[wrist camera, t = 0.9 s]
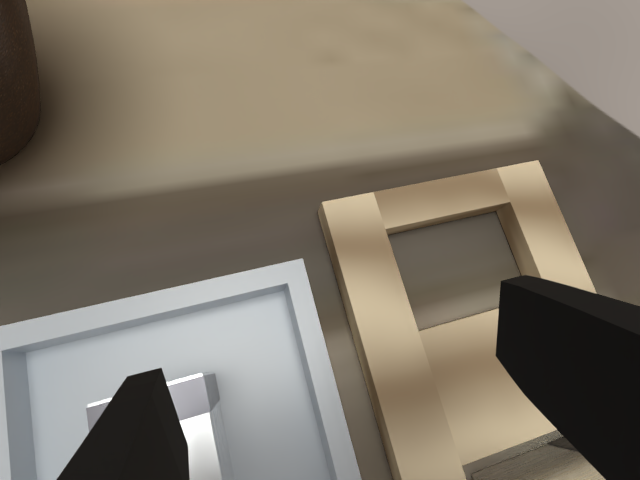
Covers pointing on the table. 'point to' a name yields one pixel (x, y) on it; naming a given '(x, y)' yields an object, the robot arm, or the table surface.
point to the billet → (543, 465)
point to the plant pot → (17, 79)
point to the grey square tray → (183, 374)
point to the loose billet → (194, 425)
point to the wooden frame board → (449, 338)
